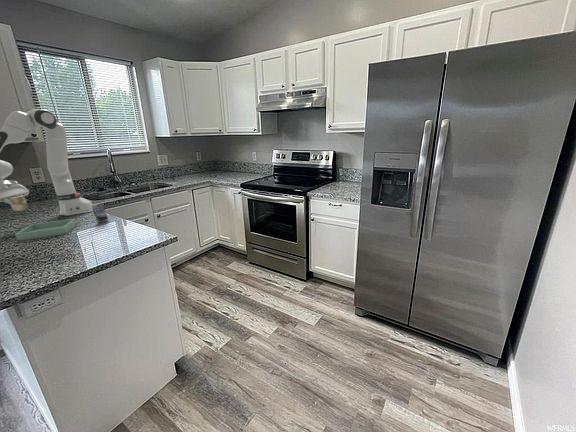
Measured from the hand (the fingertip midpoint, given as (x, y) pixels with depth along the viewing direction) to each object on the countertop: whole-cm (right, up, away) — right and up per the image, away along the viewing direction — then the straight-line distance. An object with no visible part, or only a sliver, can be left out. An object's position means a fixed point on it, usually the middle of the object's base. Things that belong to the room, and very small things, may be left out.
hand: (19, 202), depth 161 cm
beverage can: (+44, -12, +10) cm, 46 cm away
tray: (+23, -18, -5) cm, 30 cm away
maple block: (0, -4, +1) cm, 4 cm away
